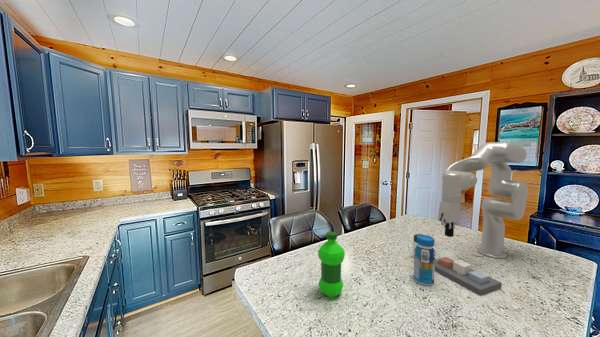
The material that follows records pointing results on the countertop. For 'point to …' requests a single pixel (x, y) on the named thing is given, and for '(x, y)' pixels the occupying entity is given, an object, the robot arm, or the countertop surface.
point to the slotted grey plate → (468, 280)
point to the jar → (414, 244)
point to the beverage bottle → (424, 260)
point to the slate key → (478, 277)
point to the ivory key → (461, 267)
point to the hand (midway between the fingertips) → (449, 235)
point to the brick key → (446, 262)
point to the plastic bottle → (331, 266)
